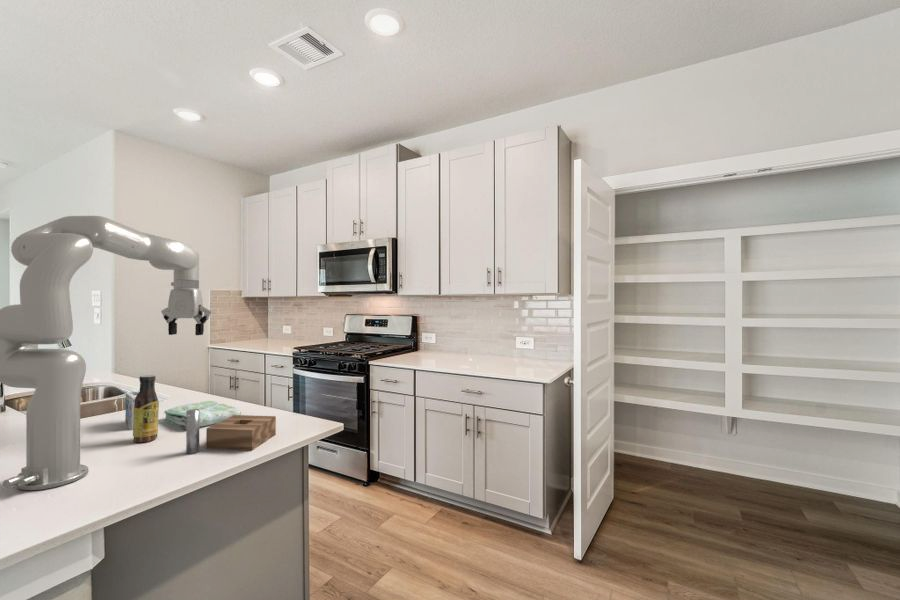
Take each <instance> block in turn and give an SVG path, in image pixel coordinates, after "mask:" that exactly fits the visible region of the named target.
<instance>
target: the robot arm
mask: <svg viewBox="0 0 900 600" xmlns="http://www.w3.org/2000/svg"><path fill="white" fill-rule="evenodd" d="M94 249H100V250H102V251H106V252H109V253H111V254H115V255H118V256H121V257H124V258H126V259H131V260H138V261H148V263H149V264H150V265H151V266H152V267H153V268H155V269H157V270H163V271H165V270H166V271H169V270H170V271H173V282H170V286H172V287H173V289H170V292H169V296H168V301H167V307H166V308H164V309H161V314H162V316H163V319H164V320H165V321H166V324H168V325H167V326H168V328H167V329H168V330H167V332H168V335H169V336H170V335H171V336H172V335H177V333H178V332H177V331H178V323H177V321H178V319H193V320H194V321H195V322H196V323H195V328H194V329H195V336H202V335H204V332H205V330H204V329H205V328H204V325H205V323H206V322H207V321H208V320H209V317H210V316H211V314H212V311H211V310H209V309H208V308H206V307H204V304H203V303H204V302H203V295H202V291H201V289H200V253H199V252H198V251H196V250H195V249H194V248H193V247H192V246H189V245H188V244H185V243H183V242H181V241H178V240H174V239H170V238H167V237H162V236H159V235H155V234H151V233H147V232H142V231H139V230H136V229H134V228H131V227H130V226H127V225H125V224H122V223H121V222H118V221H115V220H113V219H110V218H107V217H104V216H101V215H68V216H67V215H66V216H64V217H63V216H62V217H60V218H58V219H54V220H52V221H49V222H47V223H45V224H43V225H40V226H38V227H35V228H33V229H30V230H28V231H26V232H23V233H21V234H19V235H18V236H17V237H16V238H15V239H14V240H13V241H12V244H11V249H10V251H11V255H12V256H13V258H14V259H15V260H16V261H17V262H18V263H19V264H22V265H23V266H26V268H25V270H24V271H23V272H22V275H21V278H20V282H19V301H20V303H19V304H10V305H7V306H4V307H2V308H0V383H1V384H2V385H4V386H7V387H10V388H16V389H17V388H19V389H20V388H21V389H34V393H33V394H32V396H31V398H30V399H29V401H28V404H27V406H26V414H25V416H26V417H25V418H26V419H25V421H26V422H25V423H26V424H25V426H26V429H25V431H26V435H25V436H26V438H25V439H26V443H25V445H26V447H25V449H26V450H25V452H26V454H25V455H26V457H25V458H26V459H25V461H26V462H25V463H26V466H24V467H21V469H20V470H21V471H20V472H19V473H18V475H15V476H12V477H10V478H6V479H5V480H3V482H2V487H3V488H4V489H9V488H12V487H14V486H16V487H17V489H19V490H20V491H21V490H22V491H38V490H39V491H40V490H47V489H51V488H56V487H60V486H64V485H67V484H70V483H73V482H76V481H78V480H81V479H82V478H84V477H86V476H87V475H88V473H89V466H88V465H86V464H81V397H82V396H81V395H82V389H83V384H84V379H85V375H86V371H87V363H86V361H85V359H84V357H83V356H82V355H81V354H79V353H78V352H76V351H73V350H69V349H66V348H65V349H64V348H39V345H56V344H61V343H63V342H65V341H67V340H68V339H70V337H71V336H72V334H73V331H74V323H73V322H74V321H73V314H72V313H73V311H72V305H71V296H70V294H71V293H70V284H71V281H72V279H73V277H74V275H75V274H76V273H77V271H78V270H79V269H81V268H82V267H83V266H84V265H86V263H88V262H89V260H90V259H91V257H92V256H93V253H94Z"/></svg>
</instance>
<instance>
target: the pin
mask: <svg viewBox="0 0 900 600" xmlns="http://www.w3.org/2000/svg"><path fill="white" fill-rule="evenodd" d="M199 423H200V410H199V409H191V410H188V411H186V429H185V430H186V433H185V435H186V437H185V439H186V441H185V442H186V443H185V445H186V446H185V447H186V449H185V450H186V451H185V453H186V454H185V455H196V454H198V453H200V427H199Z"/></svg>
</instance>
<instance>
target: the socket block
mask: <svg viewBox="0 0 900 600" xmlns="http://www.w3.org/2000/svg"><path fill="white" fill-rule="evenodd" d="M276 421H277V417H276V416H275V415H252V414H250V415H248V414H247V415H246V414H242V415H233V416H231V417H229V418H227V419H225V420H223V421H221V422H219V423H217V424H213V425H209V427H208V426H207V427H206V433H205V434H206V435H205V436H206V437H205V438H206V442H205V443H206V444H205V445H206V450H208V449H209V450H230V451H234V450H235V451H250V452H251V451H254V450H255V449H257V448H258V447H259V446H261V445H263V444H264V443H265V442H267V441H268V440H270V439H272V438H273V437H275V436H276V435H277V434H276V433H277V431H276V430H277V429H276V428H277V422H276Z"/></svg>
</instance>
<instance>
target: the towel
mask: <svg viewBox="0 0 900 600" xmlns="http://www.w3.org/2000/svg"><path fill="white" fill-rule="evenodd" d="M191 409H199V410H200V423H199V428H202V427H208V426H212V425H214V424H217V423H219V422H221V421H223V420H225V419H227V418H229V417H231V416H233V415H243V414H242V411H241V410H240V409H237V408H236V407H235V406H232V405H229V404H228V405H227V404H224V403H222V402H218V401H213V400H205V401H199V402H195V403H188V404H182V405H179V406H175V407H173V408H172V407H171V408H169V409H166V410H164V411H163V413H164V414H165V422H166V423H169V424H171V425H174V426H175V427H178V428H180V429H182V430H186V411H188V410H191Z"/></svg>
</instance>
